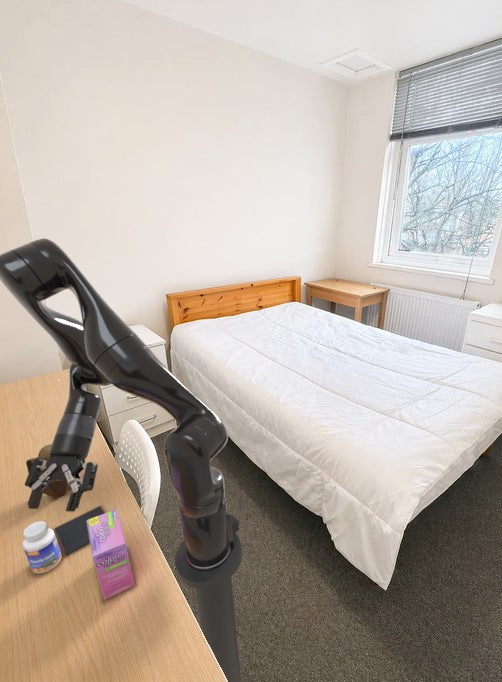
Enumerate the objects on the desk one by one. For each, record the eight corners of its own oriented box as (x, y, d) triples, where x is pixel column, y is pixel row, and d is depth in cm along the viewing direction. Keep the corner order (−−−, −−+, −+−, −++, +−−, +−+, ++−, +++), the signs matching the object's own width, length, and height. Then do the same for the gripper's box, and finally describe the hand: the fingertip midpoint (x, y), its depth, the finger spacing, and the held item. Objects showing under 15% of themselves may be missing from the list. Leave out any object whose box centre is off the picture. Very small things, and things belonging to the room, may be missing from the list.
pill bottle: (31, 579, 72) (17, 544, 68) (32, 559, 76) (18, 525, 72) (62, 565, 74) (50, 531, 71) (62, 547, 79) (50, 514, 75)
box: (136, 585, 71) (125, 542, 66) (104, 601, 68) (91, 557, 63) (126, 548, 78) (116, 508, 74) (98, 561, 76) (85, 519, 71)
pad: (100, 507, 90) (99, 505, 90) (115, 529, 83) (114, 527, 83) (55, 529, 83) (54, 528, 83) (67, 555, 77) (66, 554, 77)
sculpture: (83, 461, 101) (69, 436, 90) (81, 497, 95) (66, 475, 84) (39, 468, 98) (19, 443, 86) (34, 506, 92) (12, 485, 80)
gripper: (33, 430, 79) (6, 507, 73) (94, 433, 78) (71, 512, 72) (56, 437, 86) (33, 508, 80) (112, 440, 85) (93, 512, 79)
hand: (51, 510), depth 76 cm, fingers open, 8 cm apart
